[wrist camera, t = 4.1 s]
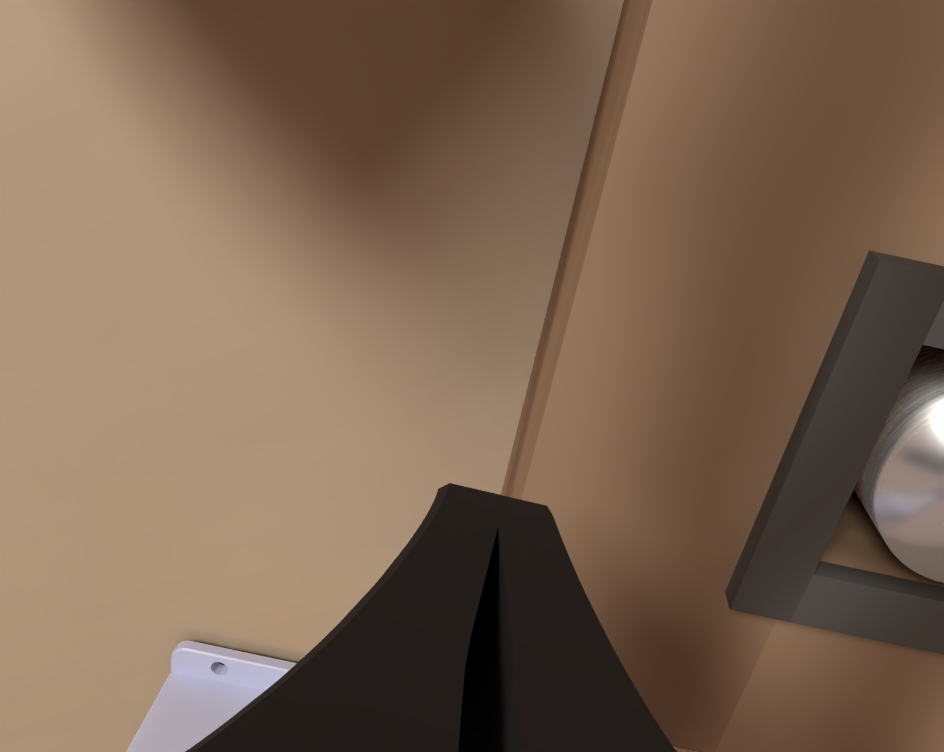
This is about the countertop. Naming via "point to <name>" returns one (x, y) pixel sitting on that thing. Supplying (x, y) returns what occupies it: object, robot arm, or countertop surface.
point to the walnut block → (750, 368)
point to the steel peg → (911, 470)
